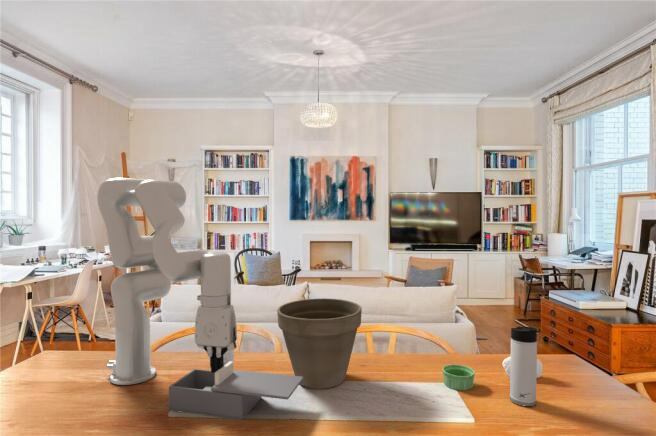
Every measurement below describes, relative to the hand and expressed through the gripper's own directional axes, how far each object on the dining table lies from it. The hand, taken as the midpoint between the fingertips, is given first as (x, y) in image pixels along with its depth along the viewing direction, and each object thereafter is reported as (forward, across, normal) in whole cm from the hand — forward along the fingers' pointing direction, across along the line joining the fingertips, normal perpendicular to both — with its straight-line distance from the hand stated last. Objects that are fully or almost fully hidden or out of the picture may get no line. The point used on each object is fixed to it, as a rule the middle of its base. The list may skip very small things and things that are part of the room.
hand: (216, 370), depth 108 cm
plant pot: (+9, +22, +22) cm, 32 cm away
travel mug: (+9, +78, +21) cm, 81 cm away
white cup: (+9, -9, +20) cm, 23 cm away
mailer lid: (+3, +12, 0) cm, 12 cm away
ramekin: (+9, +62, +28) cm, 68 cm away
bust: (+9, +81, +39) cm, 90 cm away
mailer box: (+9, 0, 0) cm, 9 cm away
